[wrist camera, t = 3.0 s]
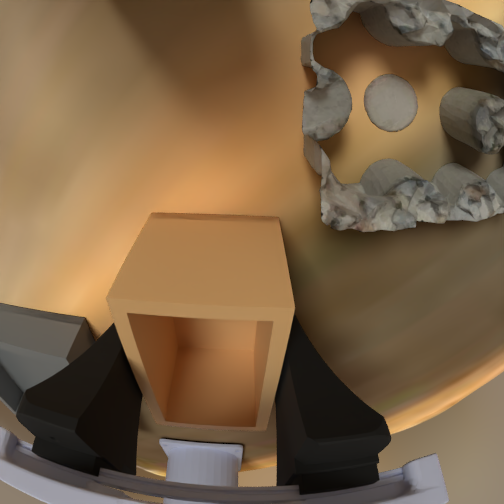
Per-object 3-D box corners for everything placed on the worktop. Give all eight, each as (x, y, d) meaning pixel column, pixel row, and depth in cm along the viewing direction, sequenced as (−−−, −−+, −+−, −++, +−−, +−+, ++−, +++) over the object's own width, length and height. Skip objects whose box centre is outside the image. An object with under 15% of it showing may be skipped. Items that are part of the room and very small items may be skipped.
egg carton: (290, 184, 11) (307, 239, 8) (294, -10, 7) (318, -49, 4) (493, 199, 12) (543, 243, 8) (515, 58, 7) (578, 73, 4)
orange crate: (262, 349, 16) (265, 431, 12) (171, 344, 16) (156, 424, 12) (278, 217, 12) (295, 307, 8) (151, 212, 12) (105, 297, 7)
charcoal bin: (135, 419, 22) (129, 448, 20) (22, 390, 22) (13, 413, 19) (84, 317, 15) (66, 358, 12) (-42, 293, 14) (-61, 319, 12)
